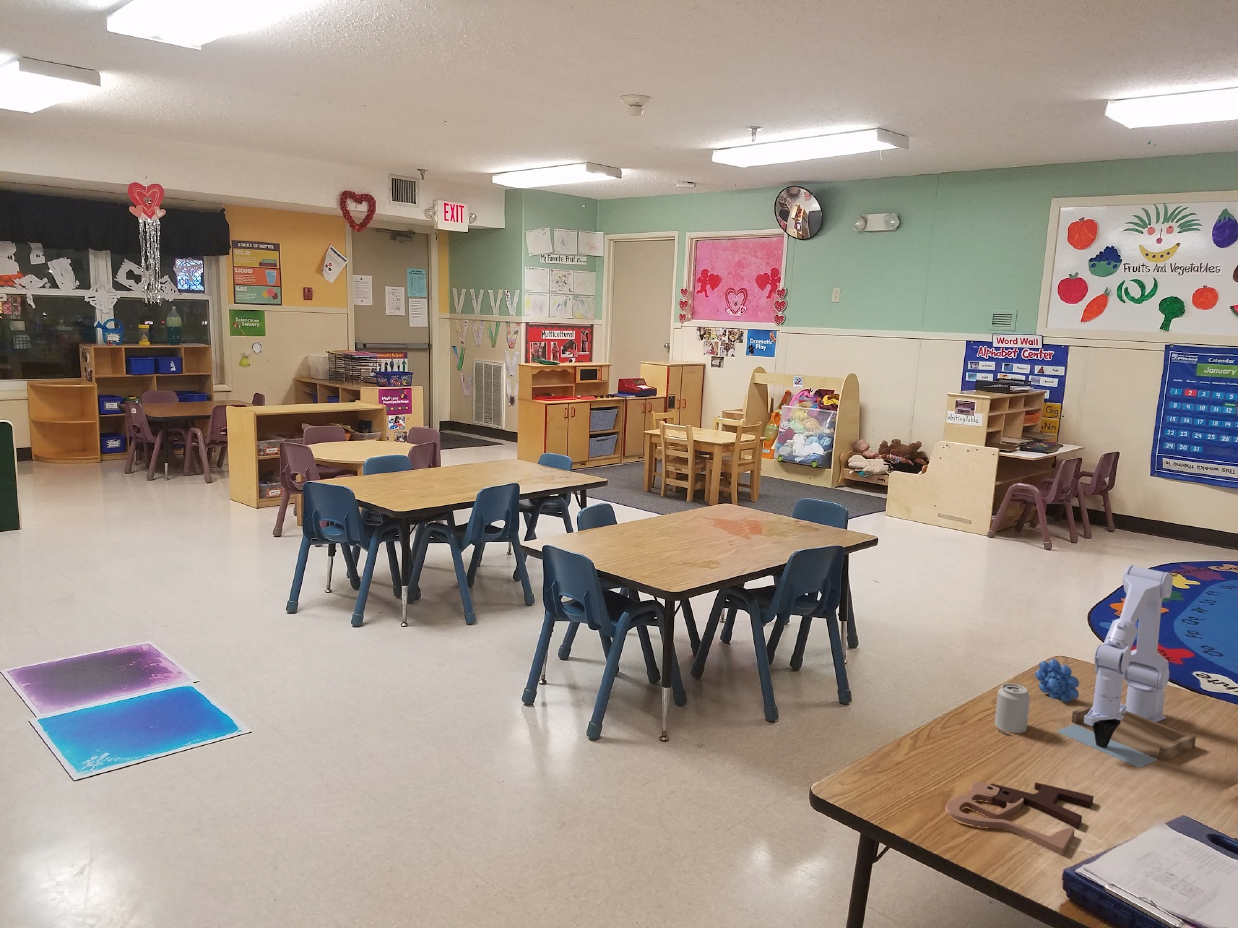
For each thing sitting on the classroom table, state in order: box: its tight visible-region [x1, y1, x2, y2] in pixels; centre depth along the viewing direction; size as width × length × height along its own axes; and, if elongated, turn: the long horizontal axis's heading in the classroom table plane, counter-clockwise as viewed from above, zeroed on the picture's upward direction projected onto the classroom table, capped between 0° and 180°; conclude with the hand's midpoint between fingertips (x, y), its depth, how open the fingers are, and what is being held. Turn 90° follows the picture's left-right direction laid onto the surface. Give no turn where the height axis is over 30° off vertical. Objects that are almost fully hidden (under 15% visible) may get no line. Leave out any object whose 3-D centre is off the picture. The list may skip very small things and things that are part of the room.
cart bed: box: [1071, 703, 1197, 762], centre depth 227 cm, size 14×23×4 cm, turn 31°
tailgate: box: [1055, 723, 1159, 769], centre depth 221 cm, size 1×21×8 cm
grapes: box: [1034, 658, 1080, 703], centre depth 247 cm, size 12×7×12 cm, turn 47°
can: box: [994, 682, 1031, 738], centre depth 230 cm, size 8×8×12 cm
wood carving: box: [945, 781, 1094, 857], centre depth 194 cm, size 28×2×24 cm
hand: (1101, 745), depth 220 cm, fingers closed
